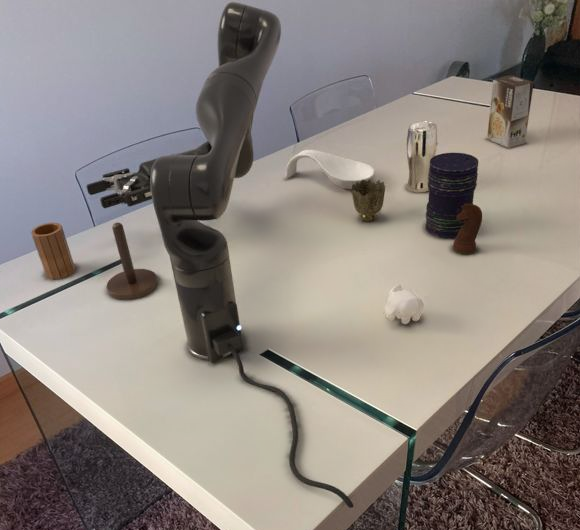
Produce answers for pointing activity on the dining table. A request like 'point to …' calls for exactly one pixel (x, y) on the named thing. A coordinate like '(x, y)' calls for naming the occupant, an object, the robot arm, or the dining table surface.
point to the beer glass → (420, 154)
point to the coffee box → (509, 110)
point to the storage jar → (449, 192)
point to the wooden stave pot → (53, 250)
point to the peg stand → (129, 273)
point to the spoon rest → (335, 168)
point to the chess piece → (468, 229)
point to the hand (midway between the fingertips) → (94, 196)
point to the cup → (368, 198)
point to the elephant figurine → (403, 305)
